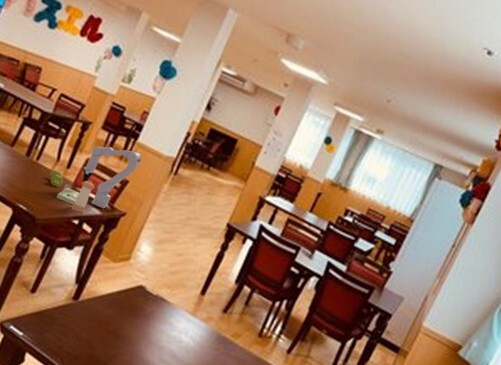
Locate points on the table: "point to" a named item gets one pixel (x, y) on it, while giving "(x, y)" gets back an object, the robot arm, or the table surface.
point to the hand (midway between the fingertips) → (84, 182)
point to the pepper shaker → (83, 196)
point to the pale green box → (67, 194)
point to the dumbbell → (56, 178)
